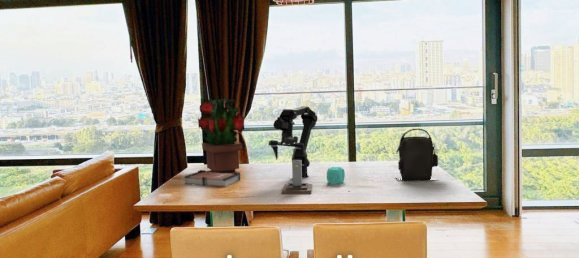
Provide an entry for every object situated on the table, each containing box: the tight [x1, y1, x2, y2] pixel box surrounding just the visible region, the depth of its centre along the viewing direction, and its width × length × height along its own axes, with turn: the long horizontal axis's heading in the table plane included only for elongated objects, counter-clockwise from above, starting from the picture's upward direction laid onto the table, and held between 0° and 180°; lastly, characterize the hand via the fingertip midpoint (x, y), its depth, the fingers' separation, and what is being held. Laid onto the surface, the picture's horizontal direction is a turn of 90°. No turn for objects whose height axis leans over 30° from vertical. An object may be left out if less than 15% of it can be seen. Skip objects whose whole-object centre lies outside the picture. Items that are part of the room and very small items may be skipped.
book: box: [184, 169, 241, 188], centre depth 267 cm, size 26×18×5 cm
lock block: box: [291, 159, 303, 188], centre depth 241 cm, size 5×4×14 cm
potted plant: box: [197, 98, 245, 173], centre depth 296 cm, size 22×22×45 cm
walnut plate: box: [281, 182, 313, 195], centre depth 243 cm, size 14×14×2 cm
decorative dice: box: [326, 166, 346, 185], centre depth 257 cm, size 8×8×8 cm
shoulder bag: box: [395, 128, 439, 182], centre depth 259 cm, size 23×9×28 cm, turn 87°
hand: (284, 160), depth 258 cm, fingers open, 9 cm apart
